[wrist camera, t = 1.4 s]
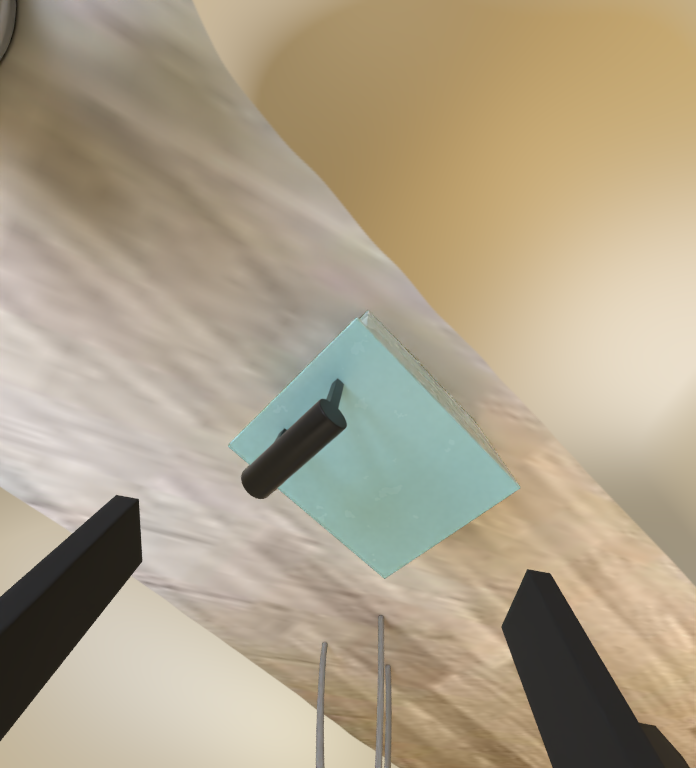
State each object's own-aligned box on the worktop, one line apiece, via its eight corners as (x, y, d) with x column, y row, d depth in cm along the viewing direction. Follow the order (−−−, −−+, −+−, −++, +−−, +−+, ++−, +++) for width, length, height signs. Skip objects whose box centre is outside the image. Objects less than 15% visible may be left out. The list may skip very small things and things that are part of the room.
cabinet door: (231, 441, 28) (178, 505, 20) (357, 316, 24) (350, 337, 16) (384, 572, 31) (388, 668, 24) (517, 482, 27) (573, 563, 20)
